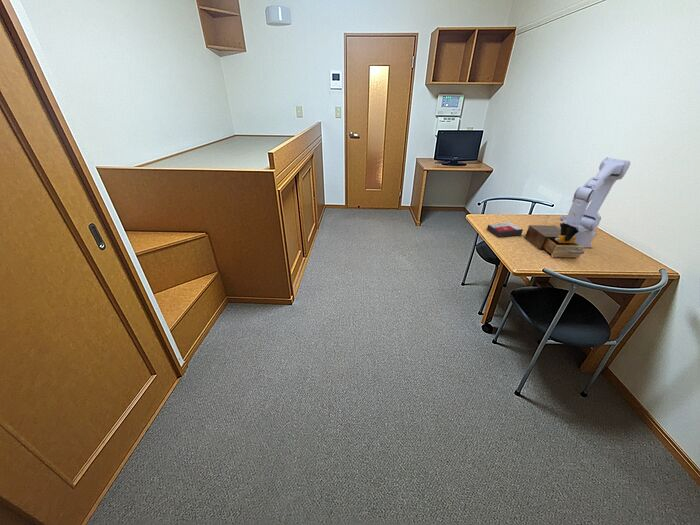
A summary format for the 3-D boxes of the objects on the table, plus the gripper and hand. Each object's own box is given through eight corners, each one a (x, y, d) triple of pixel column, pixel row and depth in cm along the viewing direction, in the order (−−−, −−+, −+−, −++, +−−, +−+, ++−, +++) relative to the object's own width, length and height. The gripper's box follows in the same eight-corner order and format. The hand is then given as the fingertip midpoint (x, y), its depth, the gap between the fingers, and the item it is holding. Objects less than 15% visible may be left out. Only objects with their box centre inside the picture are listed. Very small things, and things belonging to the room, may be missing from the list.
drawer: (586, 262, 139) (591, 251, 136) (559, 261, 138) (564, 251, 135) (561, 244, 155) (565, 234, 152) (536, 244, 154) (540, 234, 151)
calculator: (487, 223, 169) (510, 220, 172) (486, 230, 172) (508, 227, 174) (500, 231, 160) (523, 228, 163) (498, 238, 162) (521, 235, 165)
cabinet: (567, 250, 151) (573, 237, 147) (540, 250, 150) (545, 236, 147) (549, 238, 164) (555, 225, 160) (524, 237, 163) (529, 225, 159)
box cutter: (570, 240, 146) (572, 234, 144) (573, 243, 143) (576, 236, 142) (553, 240, 145) (555, 234, 143) (556, 242, 143) (559, 236, 141)
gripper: (557, 207, 143) (547, 232, 150) (578, 218, 130) (566, 245, 137) (571, 207, 143) (560, 233, 150) (594, 219, 131) (581, 246, 137)
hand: (564, 239), depth 144 cm, fingers closed on box cutter, 2 cm apart
